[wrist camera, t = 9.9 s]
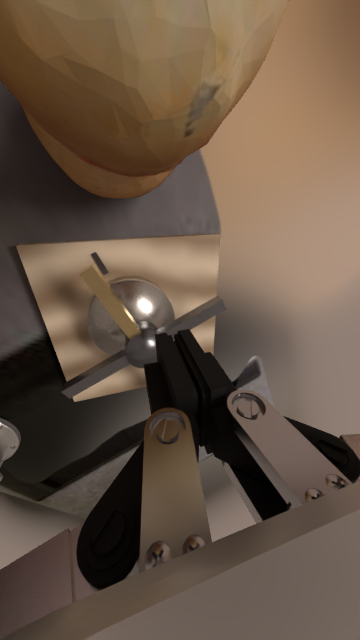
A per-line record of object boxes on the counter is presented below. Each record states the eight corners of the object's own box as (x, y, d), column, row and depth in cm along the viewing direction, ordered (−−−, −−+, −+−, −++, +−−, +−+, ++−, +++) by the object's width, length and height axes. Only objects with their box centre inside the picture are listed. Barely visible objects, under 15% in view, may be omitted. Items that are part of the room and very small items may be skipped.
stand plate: (209, 367, 43) (212, 372, 41) (75, 395, 37) (74, 402, 36) (215, 233, 31) (220, 234, 30) (20, 244, 25) (15, 245, 24)
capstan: (228, 341, 39) (249, 365, 33) (118, 405, 38) (118, 441, 32) (173, 213, 27) (189, 212, 20) (10, 304, 26) (-23, 331, 20)
